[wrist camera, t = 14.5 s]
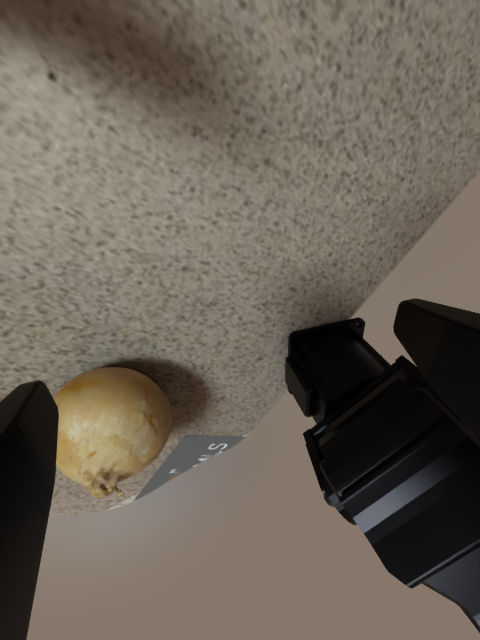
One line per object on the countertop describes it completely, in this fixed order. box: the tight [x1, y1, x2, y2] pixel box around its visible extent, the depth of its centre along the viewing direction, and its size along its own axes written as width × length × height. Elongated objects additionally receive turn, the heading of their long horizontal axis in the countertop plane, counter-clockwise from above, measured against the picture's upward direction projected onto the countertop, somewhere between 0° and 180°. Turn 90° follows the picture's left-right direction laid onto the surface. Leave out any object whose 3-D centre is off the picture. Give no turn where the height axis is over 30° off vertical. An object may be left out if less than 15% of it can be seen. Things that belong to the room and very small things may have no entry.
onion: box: [53, 367, 172, 499], centre depth 21 cm, size 8×8×7 cm
